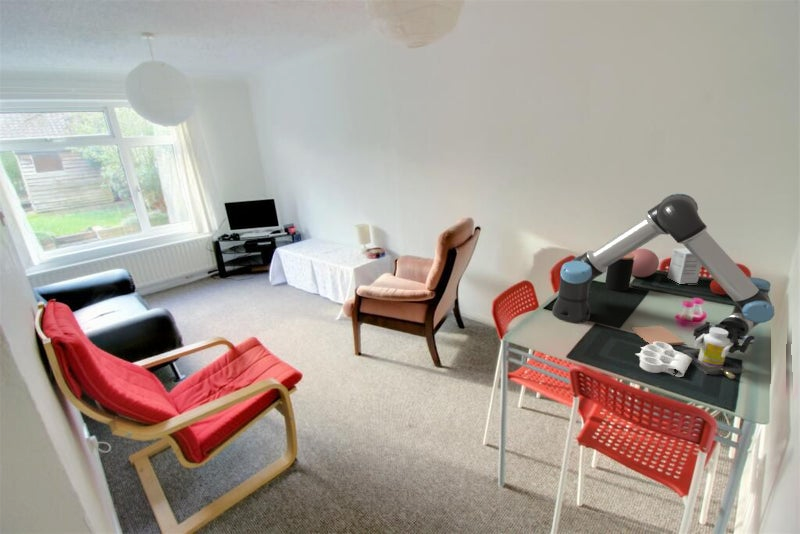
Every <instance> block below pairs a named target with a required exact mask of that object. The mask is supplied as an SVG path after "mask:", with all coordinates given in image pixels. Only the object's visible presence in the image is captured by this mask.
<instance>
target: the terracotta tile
mask: <svg viewBox="0 0 800 534" xmlns="http://www.w3.org/2000/svg"><path fill="white" fill-rule="evenodd" d="M631 330H632V331H633V332H634V333H635V334H636V335H638V337H640V338H641V339H642V338H643V340H644V341H645V342H646V343H647V342H648V343H649V344H648V343H647V344H648V345H651V344H653V342H656V341H659V342H664V343H667V344H669V345H671V346H679V345H681V346H682V345H684V344H685V341H684V340H682V339H680V338H679V337H678V336H677V335H675V334H674V333H672V332H671V331H669V330H668V329H667V328H665V327H664V326H661V325H659V326H657V325H655V326H639V327H637V326H636V327H635V326H634V327H632V328H631Z"/></svg>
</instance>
